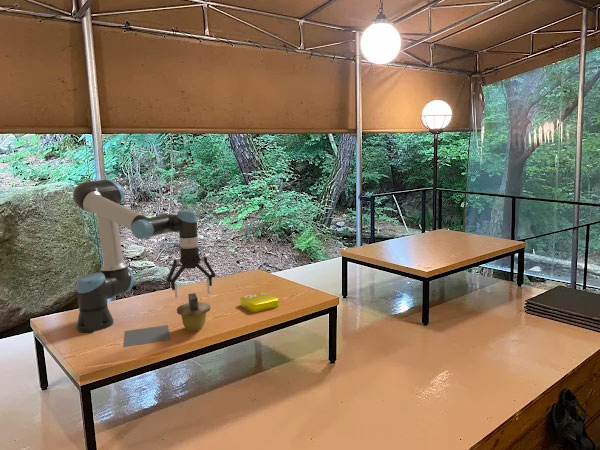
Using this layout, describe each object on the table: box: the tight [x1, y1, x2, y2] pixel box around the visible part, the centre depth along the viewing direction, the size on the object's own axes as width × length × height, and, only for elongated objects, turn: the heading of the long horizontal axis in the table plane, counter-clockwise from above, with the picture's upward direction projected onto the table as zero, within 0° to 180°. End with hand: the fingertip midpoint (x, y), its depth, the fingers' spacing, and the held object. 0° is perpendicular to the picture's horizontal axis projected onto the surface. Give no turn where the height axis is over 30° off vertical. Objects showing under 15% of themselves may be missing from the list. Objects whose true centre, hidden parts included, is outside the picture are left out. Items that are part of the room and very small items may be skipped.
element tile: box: [239, 291, 280, 314], centre depth 234 cm, size 15×15×5 cm
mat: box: [122, 324, 171, 348], centre depth 200 cm, size 18×18×1 cm
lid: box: [176, 293, 211, 316], centre depth 204 cm, size 14×14×6 cm
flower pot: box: [180, 312, 207, 332], centre depth 205 cm, size 9×9×9 cm
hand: (192, 295), depth 203 cm, fingers open, 13 cm apart
